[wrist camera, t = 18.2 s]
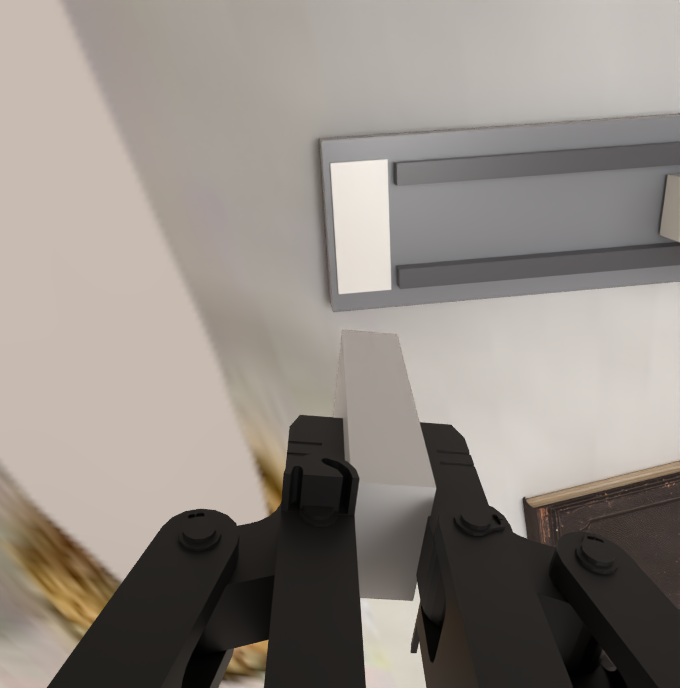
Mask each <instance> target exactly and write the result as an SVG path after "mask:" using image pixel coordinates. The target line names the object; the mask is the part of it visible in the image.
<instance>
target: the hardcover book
mask: <svg viewBox="0 0 680 688" xmlns="http://www.w3.org/2000/svg"><path fill="white" fill-rule="evenodd" d="M523 504H524V512H525V519H526V527H527V534H528V539H529V540H532V541H535V542H539V543H542V544H546V545H549V546H552V547H556V544H557V542H558V540H559V539H560V538H561V537H562V536H563V535H564V534H567V533H571V532H589V533H592V534H596V535H599V536H602V537H604V538H606V539H608V540H610V541H612V542H613V543H615V544H617V545H618V546H619V547H620V548H621V549H623V550H624V551H625V552H626V553H627V554H628V555H629V556H630V557H631V558H632V559H633V560H634V561H635V562H636V564H637V565H638V566H639V567H640V568H641V569H642V570H643V571H644V572H645V573H646V575H647V576H648V577H649V578H650V579H651V580H652V581H653V582H654V583H655V585H656V586H657V587H658V588H659V589H660V590H661V591H662V592H663V593H664V594H665V596H666V597H667V598H668V599H669V600H670V601H671V602H672V603H673V604H674V605H675V607H676V608H677V609H678V610H679V611H680V461H678V462H674V463H670V464H666V465H662V466H658V467H654V468H650V469H646V470H642V471H638V472H634V473H630V474H626V475H622V476H617V477H613V478H609V479H605V480H601V481H597V482H593V483H589V484H585V485H581V486H577V487H573V488H569V489H565V490H561V491H557V492H553V493H549V494H545V495H541V496H537V497H533V498H529V499H525V497H524V498H523ZM605 655H606V656H607V654H606V653H605ZM607 658H608V659H609V660H610V658H609V657H608V656H607ZM610 662H611V663H612V661H611V660H610ZM612 664H613V663H612ZM613 665H614V664H613ZM614 666H615V665H614Z"/></svg>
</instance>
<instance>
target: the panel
mask: <svg viewBox="0 0 680 688" xmlns="http://www.w3.org/2000/svg"><path fill="white" fill-rule="evenodd" d="M319 145H320V159H321V174H322V188H323V203H324V217H325V232H326V246H327V261H328V275H329V290H330V303H331V306H332V310H333V312H340V311H351V310H363V309H374V308H385V307H397V306H408V305H419V304H431V303H442V302H453V301H465V300H476V299H487V298H499V297H510V296H521V295H533V294H544V293H555V292H567V291H578V290H589V289H601V288H612V287H623V286H635V285H646V284H657V283H669V282H680V242H678V241H675V240H672V239H669V238H666V237H663V236H661V235H660V228H661V221H662V213H663V206H664V198H665V191H666V184H667V176H668V174H680V114H670V115H656V116H641V117H627V118H612V119H598V120H583V121H569V122H554V123H540V124H525V125H511V126H496V127H482V128H467V129H453V130H438V131H424V132H410V133H395V134H381V135H366V136H352V137H337V138H323V139H319Z"/></svg>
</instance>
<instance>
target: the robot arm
mask: <svg viewBox="0 0 680 688" xmlns="http://www.w3.org/2000/svg"><path fill="white" fill-rule="evenodd" d="M417 583H418V589H419V594H420V605H419V609H418V614H417V619H416V623H415V628H414V633H413V638H412V642H411V653H417V648H418V644H419V642H420V649H421V655H422V661H423V668H424V674H425V681H426V687H427V688H680V611H679V610H678V609H677V608H676V607H675V605H674V604H673V603H672V602H671V601H670V600H669V599H668V598H667V597H666V596H665V594H664V593H663V592H662V591H661V590H660V589H659V588H658V587H657V586H656V585H655V583H654V582H653V581H652V580H651V579H650V578H649V577H648V576H647V575H646V573H645V572H644V571H643V570H642V569H641V568H640V567H639V566H638V565H637V564H636V562H635V561H634V560H633V559H632V558H631V557H630V556H629V555H628V554H627V553H626V552H625V551H624V550H623V549H621V548H620V547H619V546H618V545H617V544H615V543H613V542H612V541H610V540H608V539H606V538H604V537H602V536H599V535H596V534H592V533H589V532H571V533H567V534H564V535H563V536H562V537H561V538H560V539H559V540H558V542H557V544H556V547H552V546H549V545H546V544H542V543H539V542H535V541H532V540H529V539H526V538H524V537H521V536H519V535H517V534H515V533H513V531H512V529H511V526H510V524H509V523H508V521H507V520H506V518H505V517H504V515H502V514H501V513H500V512H498V511H497V510H496V509H495V508H493V507H491V506H489V505H488V502H487V499H486V496H485V494H484V491H483V488H482V485H481V483H480V480H479V477H478V474H477V472H476V469H475V467H474V463H473V460H472V458H471V455H469V449H468V447H467V444H466V441H465V438H464V437H463V436H462V435H461V434H460V433H459V432H458V431H457V430H456V429H455V428H454V427H453V426H452V425H447V424H434V423H421V422H419V418H418V414H417V410H416V406H415V402H414V398H413V394H412V391H411V387H410V383H409V379H408V375H407V371H406V367H405V363H404V359H403V355H402V351H401V347H400V343H399V340H398V336H397V334H387V333H375V332H363V331H352V330H342V338H341V347H340V356H339V365H338V374H337V383H336V392H335V401H334V410H333V417H320V416H307V415H300V416H299V417H298V418H297V419H296V420H295V421H294V422H293V424H292V425H291V426H290V430H289V440H288V450H287V460H286V469H285V471H284V477H283V490H282V502H281V504H280V506H279V507H278V509H277V510H276V511H275V512H274V513H272V514H271V515H270V516H269V517H267V518H264V519H262V520H260V521H258V522H254V523H251V524H245V525H239V526H237V525H236V523H235V522H234V521H233V520H232V519H231V518H230V517H229V516H228V515H226V514H223V513H221V512H218V511H216V510H208V509H196V510H190V511H185V512H183V513H181V514H178V515H176V516H174V517H172V518H171V519H170V520H169V521H168V522H167V523H166V524H165V525H163V526H162V528H161V529H160V531H159V532H158V533H157V535H156V536H155V538H154V539H153V541H152V542H151V543H150V545H149V546H148V547H147V549H146V550H145V552H144V553H143V554H142V556H141V557H140V559H139V560H138V561H137V563H136V564H135V565H134V567H133V568H132V570H131V571H130V572H129V574H128V575H127V577H126V578H125V579H124V581H123V582H122V584H121V585H120V586H119V588H118V589H117V591H116V592H115V593H114V595H113V596H112V598H111V599H110V600H109V602H108V603H107V604H106V606H105V607H104V609H103V610H102V611H101V613H100V614H99V616H98V617H97V618H96V620H95V621H94V623H93V624H92V625H91V627H90V628H89V630H88V631H87V632H86V634H85V635H84V637H83V638H82V639H81V641H80V642H79V643H78V645H77V646H76V648H75V649H74V650H73V652H72V653H71V655H70V656H69V657H68V659H67V660H66V662H65V663H64V664H63V666H62V667H61V669H60V670H59V671H58V673H57V674H56V676H55V677H54V678H53V680H52V681H51V683H50V684H49V685H48V687H47V688H218V687H219V685H220V682H221V680H222V678H223V676H224V673H225V671H226V669H227V666H228V664H229V662H230V660H231V657H232V655H233V650H234V648H237V647H241V646H245V645H249V644H253V643H257V642H261V641H265V640H269V641H268V651H267V662H266V672H265V683H264V688H366V683H365V668H364V653H363V638H362V622H361V607H360V598H373V599H390V600H407V601H413V598H414V594H415V589H416V584H417ZM605 653H606V654H607V656H608V657H609V658H610V660H611V661H612V663H613V664H614V665H615V666H614V665H613V664H612V663H611V662H610V660H609V659H608V658H607V656H606V655H605Z"/></svg>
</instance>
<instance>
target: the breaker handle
mask: <svg viewBox="0 0 680 688" xmlns="http://www.w3.org/2000/svg"><path fill="white" fill-rule="evenodd" d="M660 235H661V236H663V237H666V238H669V239H672V240H675V241H678V242H680V174H668V176H667V184H666V191H665V198H664V206H663V213H662V221H661V228H660Z"/></svg>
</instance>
